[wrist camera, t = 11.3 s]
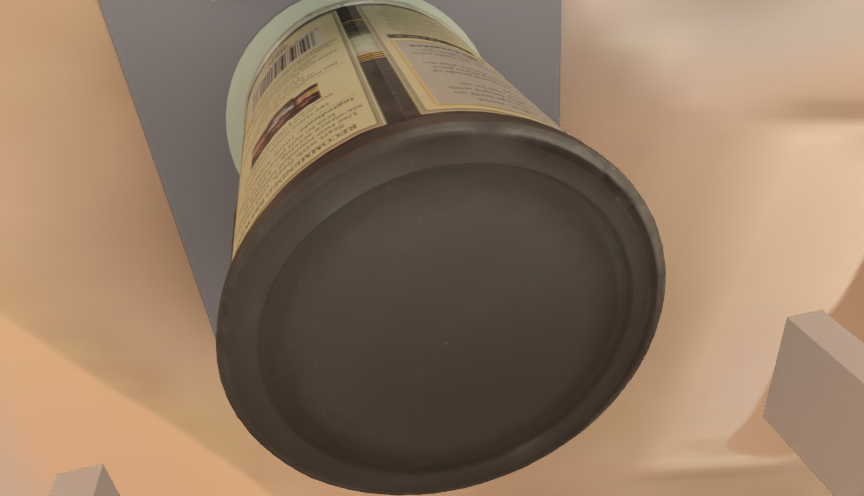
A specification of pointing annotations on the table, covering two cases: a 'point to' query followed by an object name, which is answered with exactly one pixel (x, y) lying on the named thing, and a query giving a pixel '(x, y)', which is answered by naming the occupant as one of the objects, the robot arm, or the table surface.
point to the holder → (231, 77)
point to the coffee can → (422, 262)
